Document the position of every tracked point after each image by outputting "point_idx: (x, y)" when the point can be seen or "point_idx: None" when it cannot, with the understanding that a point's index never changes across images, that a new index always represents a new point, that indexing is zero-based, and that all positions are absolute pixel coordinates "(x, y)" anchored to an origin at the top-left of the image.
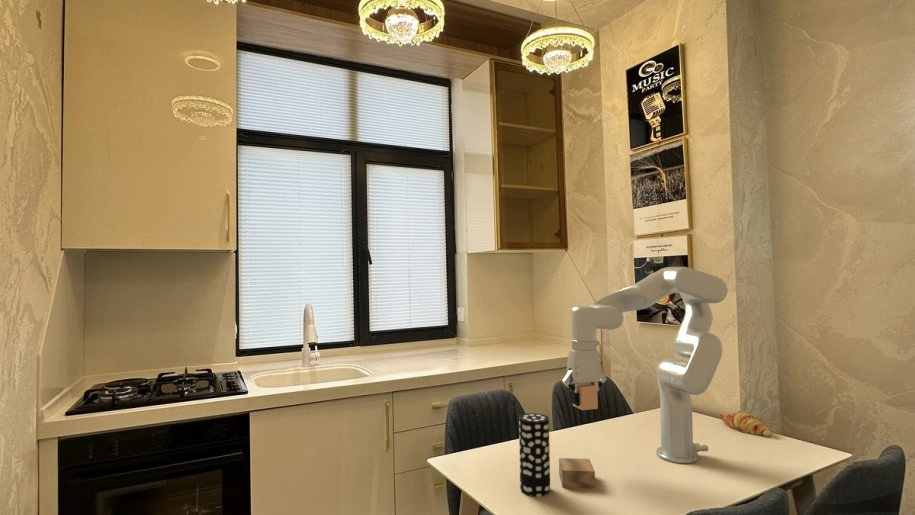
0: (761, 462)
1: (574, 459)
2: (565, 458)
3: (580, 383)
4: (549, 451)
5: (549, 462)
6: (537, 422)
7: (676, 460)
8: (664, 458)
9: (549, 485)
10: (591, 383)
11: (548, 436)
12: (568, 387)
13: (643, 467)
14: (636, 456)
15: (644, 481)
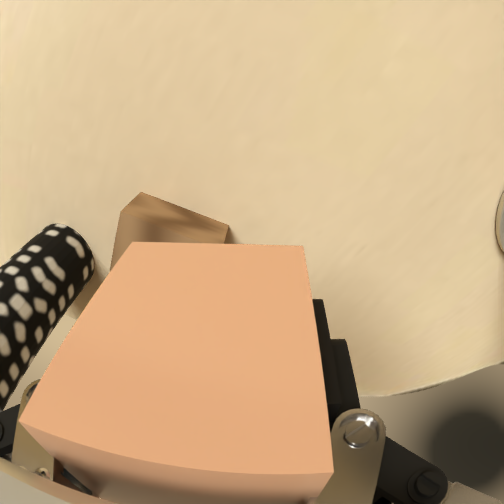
0: None
1: (168, 238)
2: (141, 220)
3: (138, 478)
4: (46, 336)
5: (59, 319)
6: None
7: (501, 248)
8: (497, 219)
9: (83, 287)
10: (321, 500)
11: (23, 374)
12: (3, 421)
13: (417, 234)
14: (462, 160)
15: (347, 302)
